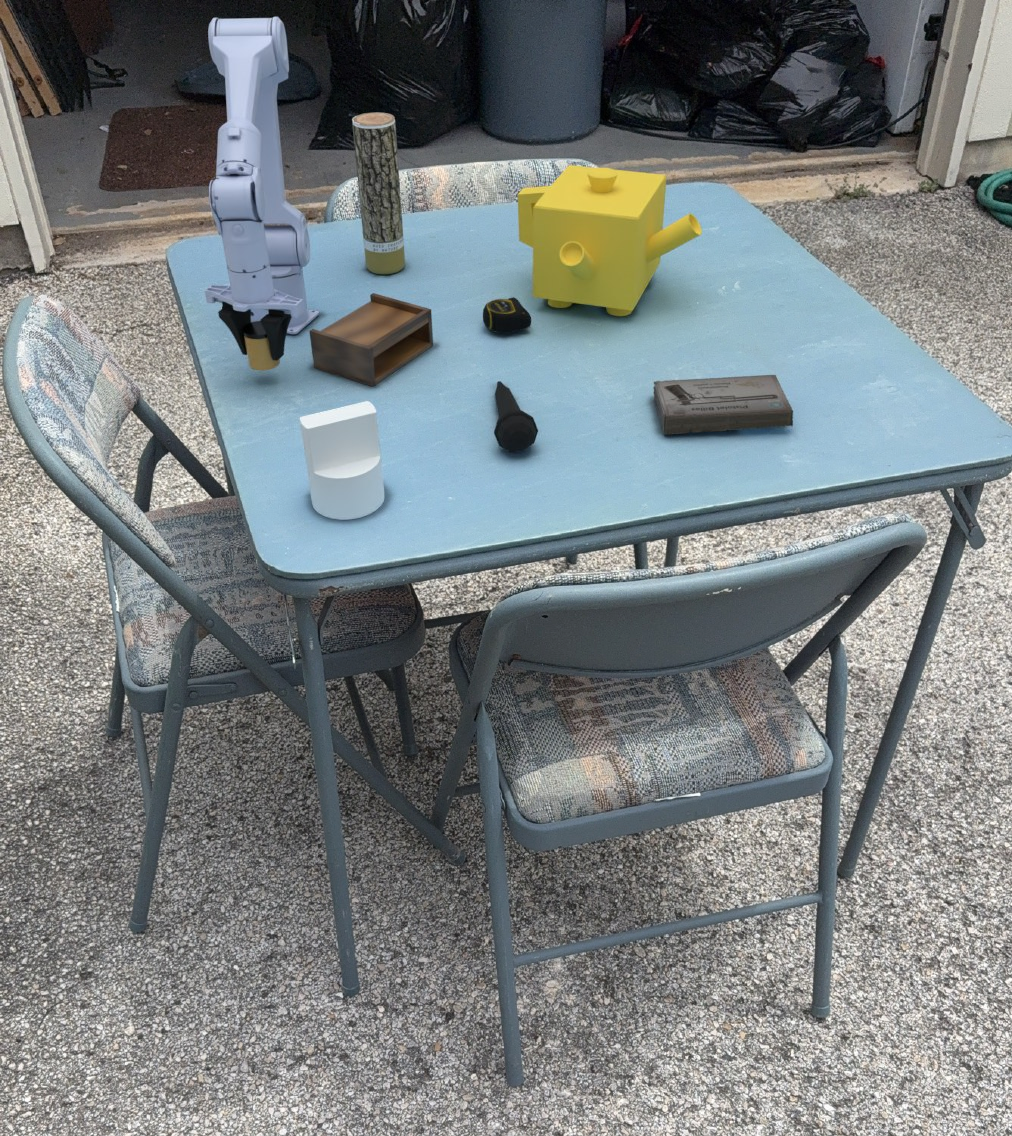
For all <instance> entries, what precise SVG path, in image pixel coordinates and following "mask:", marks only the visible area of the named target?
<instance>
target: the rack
mask: <svg viewBox="0 0 1012 1136" xmlns="http://www.w3.org/2000/svg"><path fill="white" fill-rule="evenodd" d="M369 297H370V300H369V301H368V302H367V303H364V304H363V305H362V306H360V307H358V308H357V309H355V310H353V311H351V312H350V313H348V314H347V315H345V316H343V317H341V318H340V319H338V320H336V321H334V322H333V323H331V324H330V325H328V326H327V327H325V328H323V329H321V330H318V329H315V328H311V329H310V330H309V331H308V332H309V340H310V347H311V356H312V363H313V368H314V369H317V370H320V371H323V372H326V373H329V374H332V375H336V376H339V377H342V378H345V379H348V380H350V381H354V382H357V383H359V384H363V385H365V386H366V385H367V386H369V387H372V388H373V387H374V386H377V385H378V384H379V383H380V382H382V381H383V380H385V379H386V378H387V377H389V376H391V375H392V374H393V373H395V372H396V371H398V370H400V369H401V368H402V367H404V366H405V365H407V364H408V363H410V362H411V361H412V360H414V359H416V358H417V357H418V356H420V355H422V354H423V353H424V352H426V351H428V350H429V349H430V348H432V347H433V346H434V335H433V334H434V333H433V316H432V309H431V308H428V307H425V306H421V305H417V304H414V303H410V302H407V301H403V300H400V299H397V298H393V297H389V296H385V295H383V294H378V293H375V292H372V293H370V295H369Z"/></svg>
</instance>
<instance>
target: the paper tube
mask: <svg viewBox="0 0 1012 1136" xmlns="http://www.w3.org/2000/svg"><path fill="white" fill-rule="evenodd" d="M351 121H352V132H353V144H354V153H355V155H354V157H355V164H356V176H357V187H358V195H359V197H358V198H359V208H360V219H361V228H362V239H363V248H364V249H363V250H364V258H365V259H364V260H365V267H366V269H367V271H369V272H371V273H372V274H375V275H392V274H396V273H398V272H401V271H402V270H403V269H404V267H405V265H406V256H405V239H404V226H403V225H404V223H403V212H402V211H403V209H402V196H401V184H400V183H401V182H400V171H399V170H400V169H399V156H398V142H397V141H398V139H397V128H396V119H395V116H394V115H393V114H391V113H386V112H366V113H361V114H358V115H355V116H354V117H352V119H351Z"/></svg>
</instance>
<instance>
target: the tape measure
mask: <svg viewBox="0 0 1012 1136" xmlns="http://www.w3.org/2000/svg"><path fill="white" fill-rule="evenodd" d="M482 323H483V324H484V326H485V327H486V328H487V329H488V330H490V331H491V332H493V333H497V334H512V333H515V332H519V331H523V330H526V329H529V328H530V327H531V325H532V316H531V314H530V313H529V312H528V310H527V309H526V308H525V307H524V306H523V305H522V304H521V301H519V300H518V298H517V297H514V296H513V297H508V298H497V299H493V300H490V301H488V302H487V303H486V304H485V305H484V308H483V310H482Z"/></svg>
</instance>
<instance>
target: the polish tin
mask: <svg viewBox="0 0 1012 1136" xmlns="http://www.w3.org/2000/svg"><path fill="white" fill-rule="evenodd" d="M242 331H243V335H244V338H245V344H246V350H247V355H246V356H247V362H248V366H249V368H251V369H252V370H254V371H260V372H264V371H270V370H274V369H276V368H277V367H279V365H280V363H281V360H280V359H281V358H280V359H279V360H278V361H275V360H273V359H272V356H271V352H270V347H269V341H268V338H267V335H266V332H265V330H264V327H263V326H262V324H261V321H255V322H251V323H248V324H247V325H245V326H244V327H243V329H242Z"/></svg>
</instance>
